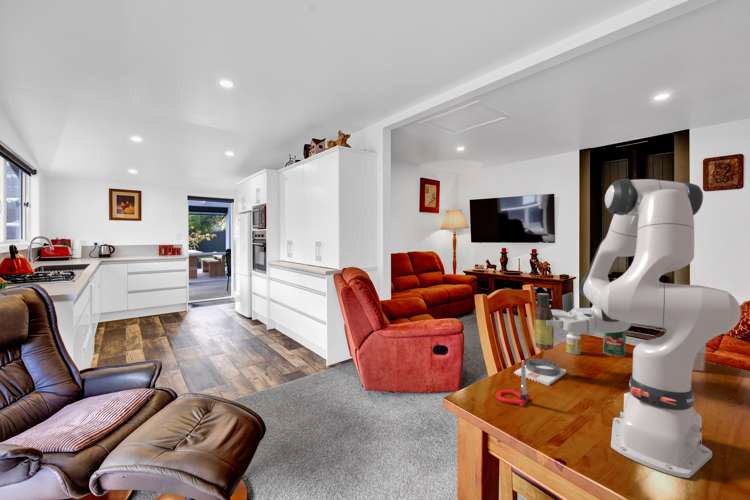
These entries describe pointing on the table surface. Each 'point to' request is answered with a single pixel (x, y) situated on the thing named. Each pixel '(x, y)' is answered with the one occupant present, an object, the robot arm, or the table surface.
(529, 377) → the socket board
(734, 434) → the table surface
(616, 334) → the canned tomato
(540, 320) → the sauce bottle
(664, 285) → the robot arm
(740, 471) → the table surface
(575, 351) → the supplement bottle
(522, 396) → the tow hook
